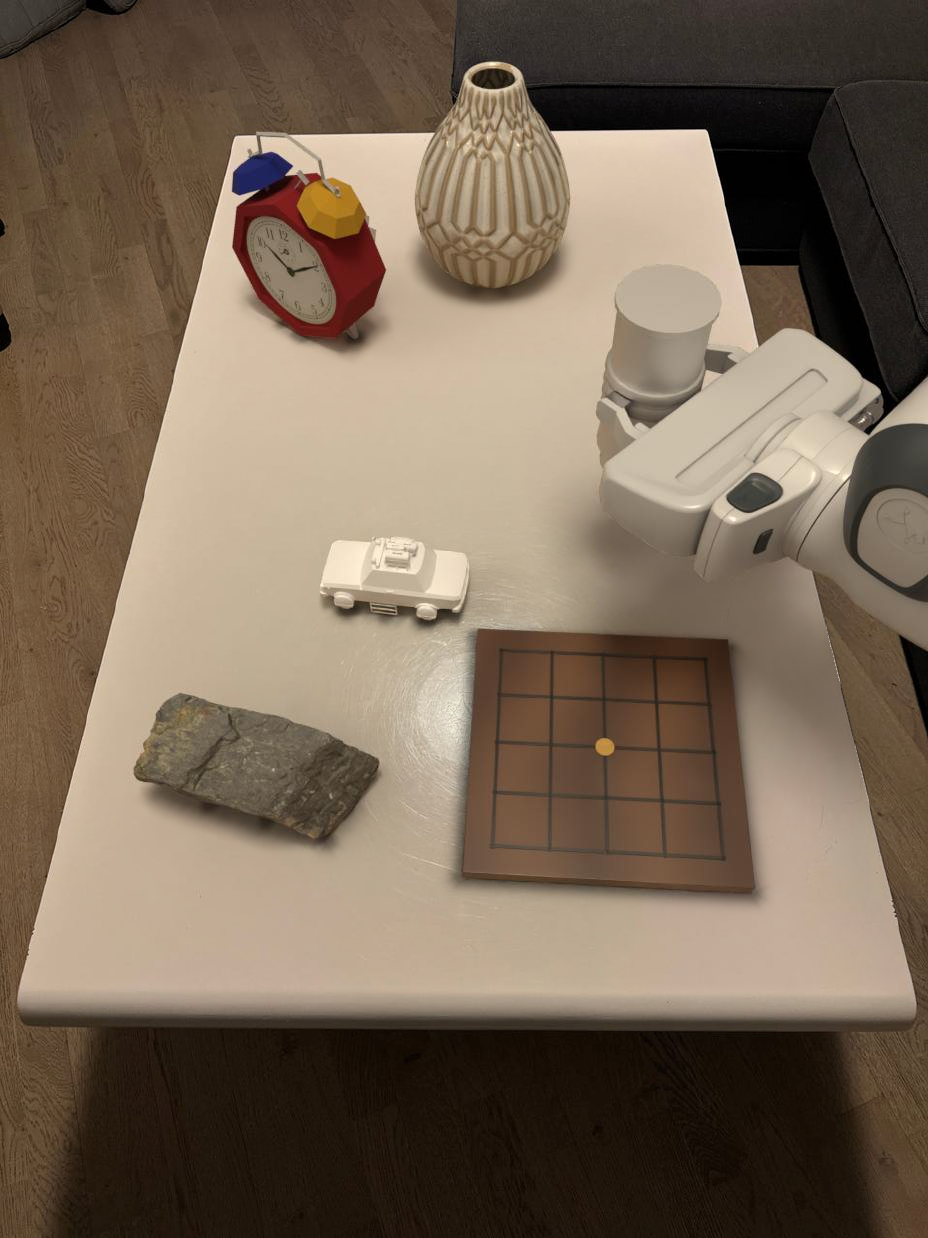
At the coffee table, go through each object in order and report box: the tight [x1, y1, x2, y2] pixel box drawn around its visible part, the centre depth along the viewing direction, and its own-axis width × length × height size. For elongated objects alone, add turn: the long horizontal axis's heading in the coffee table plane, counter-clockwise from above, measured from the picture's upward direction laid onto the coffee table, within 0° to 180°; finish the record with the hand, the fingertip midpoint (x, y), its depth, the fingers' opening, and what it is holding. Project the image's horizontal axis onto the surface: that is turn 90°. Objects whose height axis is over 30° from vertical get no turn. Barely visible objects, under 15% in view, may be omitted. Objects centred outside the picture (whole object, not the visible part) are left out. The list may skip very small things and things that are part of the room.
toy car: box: [319, 535, 470, 621], centre depth 76 cm, size 6×12×7 cm, turn 81°
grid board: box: [461, 628, 756, 894], centre depth 70 cm, size 20×20×1 cm
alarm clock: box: [231, 131, 387, 340], centre depth 90 cm, size 15×9×20 cm, turn 54°
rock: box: [133, 692, 380, 839], centre depth 68 cm, size 17×7×10 cm
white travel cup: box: [596, 263, 723, 470], centre depth 66 cm, size 7×7×15 cm
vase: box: [414, 61, 571, 289], centre depth 94 cm, size 16×16×20 cm
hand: (642, 374), depth 66 cm, fingers closed on white travel cup, 7 cm apart
